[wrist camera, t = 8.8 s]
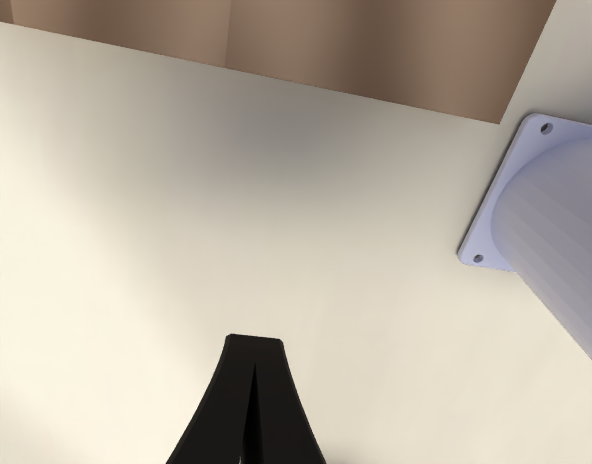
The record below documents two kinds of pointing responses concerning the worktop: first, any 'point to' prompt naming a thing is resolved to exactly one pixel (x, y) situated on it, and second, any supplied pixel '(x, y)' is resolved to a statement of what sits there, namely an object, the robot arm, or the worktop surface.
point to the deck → (327, 42)
